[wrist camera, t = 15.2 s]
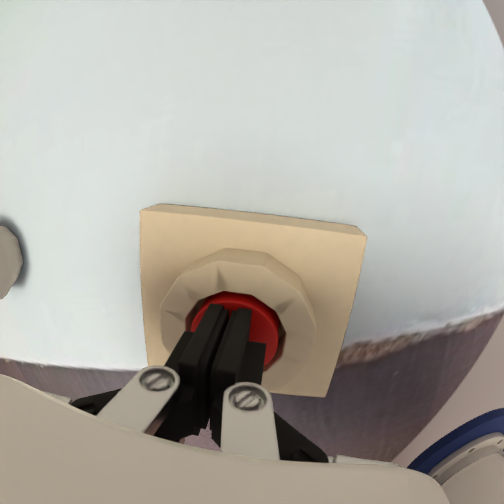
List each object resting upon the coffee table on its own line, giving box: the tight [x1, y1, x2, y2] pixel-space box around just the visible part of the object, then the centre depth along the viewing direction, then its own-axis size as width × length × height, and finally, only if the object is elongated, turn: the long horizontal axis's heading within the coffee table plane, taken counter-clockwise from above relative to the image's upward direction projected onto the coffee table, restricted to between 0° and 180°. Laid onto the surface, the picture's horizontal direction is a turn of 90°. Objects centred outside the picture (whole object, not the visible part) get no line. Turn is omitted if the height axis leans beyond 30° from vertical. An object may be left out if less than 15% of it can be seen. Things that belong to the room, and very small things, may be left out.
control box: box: [140, 204, 367, 397], centre depth 14 cm, size 10×9×4 cm
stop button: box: [191, 291, 279, 366], centre depth 12 cm, size 4×4×2 cm
